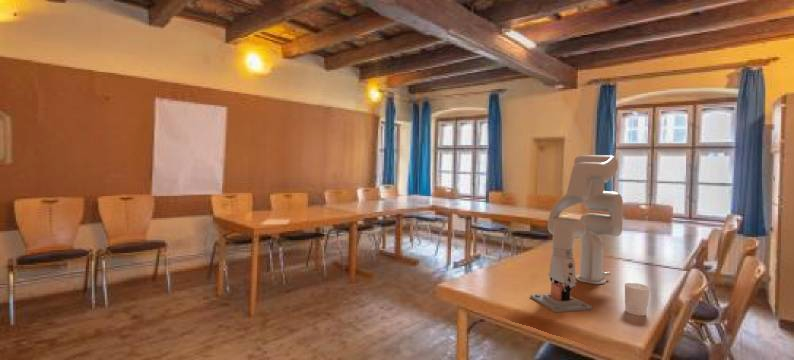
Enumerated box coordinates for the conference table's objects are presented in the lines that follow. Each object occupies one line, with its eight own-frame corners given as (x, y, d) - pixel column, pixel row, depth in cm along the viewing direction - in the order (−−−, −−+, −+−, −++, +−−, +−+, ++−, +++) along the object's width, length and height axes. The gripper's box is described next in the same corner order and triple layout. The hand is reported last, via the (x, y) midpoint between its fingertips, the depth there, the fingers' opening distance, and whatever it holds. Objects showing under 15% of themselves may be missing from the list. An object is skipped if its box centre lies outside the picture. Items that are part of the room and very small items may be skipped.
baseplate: (564, 294, 164) (564, 289, 164) (592, 309, 149) (592, 303, 149) (530, 297, 160) (530, 292, 160) (555, 312, 145) (555, 306, 145)
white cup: (618, 308, 150) (620, 282, 150) (638, 308, 151) (639, 282, 150) (632, 316, 142) (634, 289, 142) (653, 316, 143) (654, 289, 143)
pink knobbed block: (561, 297, 158) (562, 280, 157) (569, 301, 153) (570, 284, 152) (550, 298, 156) (551, 281, 156) (558, 302, 151) (559, 285, 151)
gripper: (586, 257, 146) (584, 305, 147) (556, 247, 163) (554, 290, 164) (569, 258, 144) (566, 307, 145) (540, 247, 161) (538, 291, 162)
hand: (560, 297), depth 154 cm, fingers open, 5 cm apart
